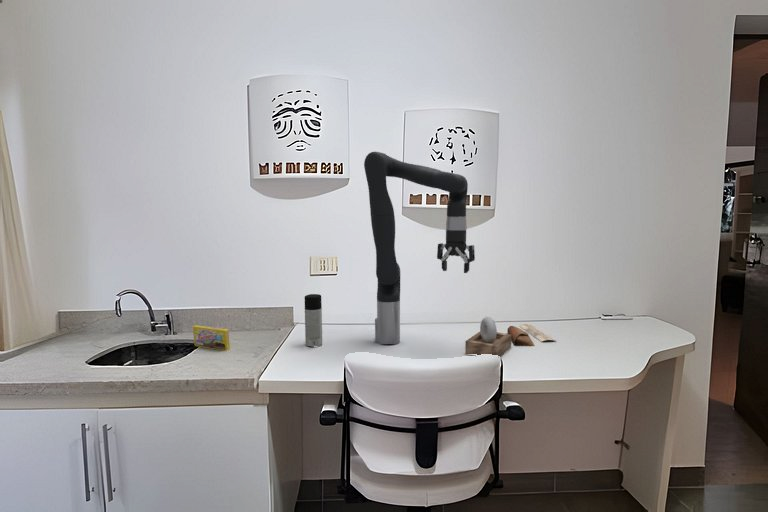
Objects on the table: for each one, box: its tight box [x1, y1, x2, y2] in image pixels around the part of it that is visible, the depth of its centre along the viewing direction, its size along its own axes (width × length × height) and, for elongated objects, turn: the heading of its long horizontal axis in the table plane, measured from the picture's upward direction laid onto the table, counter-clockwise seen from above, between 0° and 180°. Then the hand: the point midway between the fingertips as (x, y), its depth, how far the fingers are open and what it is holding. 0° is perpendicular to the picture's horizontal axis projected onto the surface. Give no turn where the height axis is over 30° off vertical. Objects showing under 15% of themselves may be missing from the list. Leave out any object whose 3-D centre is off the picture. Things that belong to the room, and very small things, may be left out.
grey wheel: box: [479, 316, 498, 343], centre depth 170 cm, size 10×4×10 cm, turn 12°
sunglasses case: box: [507, 325, 535, 347], centre depth 184 cm, size 18×7×7 cm
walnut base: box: [464, 331, 512, 358], centre depth 170 cm, size 12×17×5 cm
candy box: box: [192, 324, 231, 351], centre depth 174 cm, size 16×2×8 cm, turn 68°
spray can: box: [304, 293, 323, 348], centre depth 177 cm, size 7×7×20 cm
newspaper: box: [519, 323, 557, 343], centre depth 192 cm, size 24×7×2 cm, turn 5°
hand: (455, 271), depth 169 cm, fingers open, 8 cm apart
